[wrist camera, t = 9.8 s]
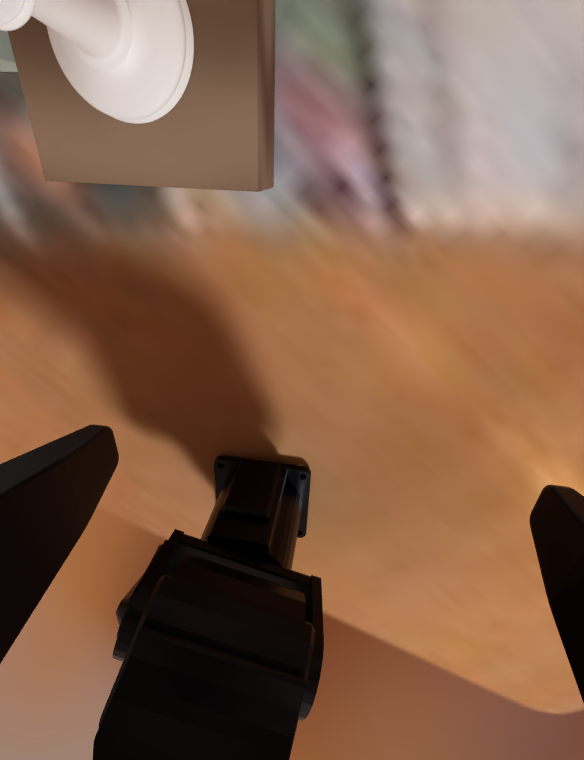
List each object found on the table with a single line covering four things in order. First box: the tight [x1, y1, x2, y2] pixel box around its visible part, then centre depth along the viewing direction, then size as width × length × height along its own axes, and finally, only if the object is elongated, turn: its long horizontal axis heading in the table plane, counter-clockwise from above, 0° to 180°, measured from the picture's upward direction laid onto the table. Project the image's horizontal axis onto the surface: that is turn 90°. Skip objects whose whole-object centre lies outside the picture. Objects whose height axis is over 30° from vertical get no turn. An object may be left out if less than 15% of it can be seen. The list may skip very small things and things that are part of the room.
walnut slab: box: [8, 0, 275, 192], centre depth 14 cm, size 9×9×3 cm
